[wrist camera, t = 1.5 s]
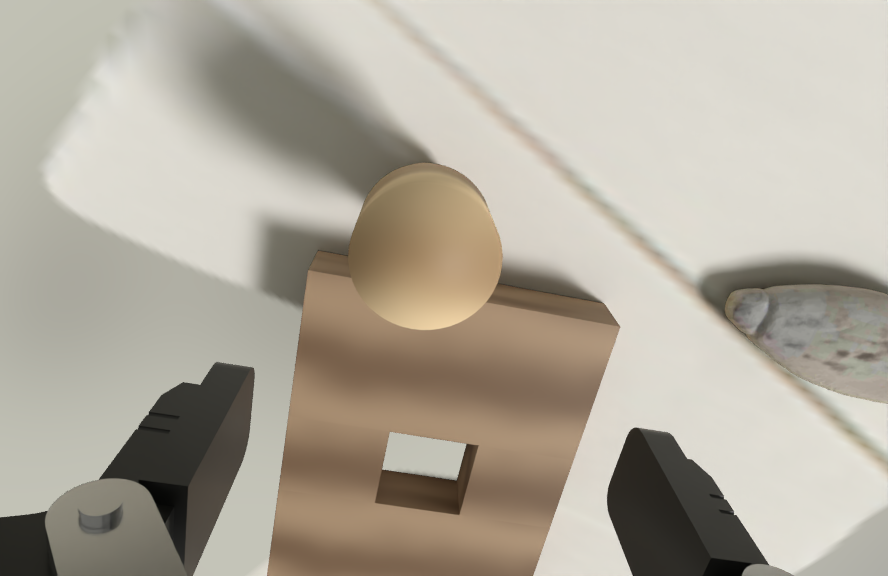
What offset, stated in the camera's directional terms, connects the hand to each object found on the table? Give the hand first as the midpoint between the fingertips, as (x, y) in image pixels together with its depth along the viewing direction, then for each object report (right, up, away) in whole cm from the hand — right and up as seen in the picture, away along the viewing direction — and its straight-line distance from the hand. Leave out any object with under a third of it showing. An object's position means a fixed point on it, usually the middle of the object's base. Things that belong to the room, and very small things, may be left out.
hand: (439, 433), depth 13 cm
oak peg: (-1, +8, +18) cm, 20 cm away
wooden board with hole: (-1, -6, +24) cm, 25 cm away
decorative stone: (+23, +1, +23) cm, 32 cm away
